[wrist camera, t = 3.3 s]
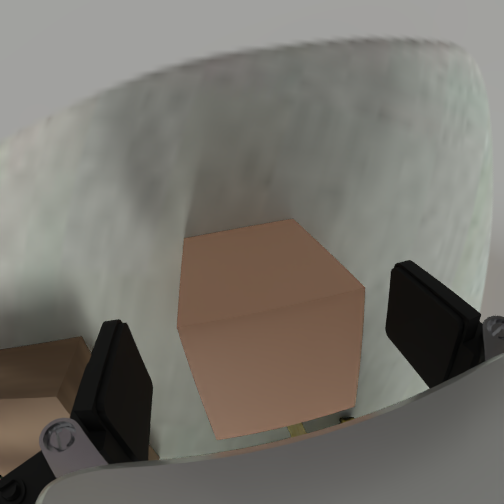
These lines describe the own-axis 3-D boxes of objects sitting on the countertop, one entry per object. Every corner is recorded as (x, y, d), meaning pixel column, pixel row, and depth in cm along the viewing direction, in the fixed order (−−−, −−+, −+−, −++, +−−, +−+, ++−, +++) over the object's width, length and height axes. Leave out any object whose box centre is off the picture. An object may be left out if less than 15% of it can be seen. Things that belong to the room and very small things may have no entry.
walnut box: (159, 454, 20) (159, 508, 15) (41, 456, 19) (29, 499, 14) (83, 332, 15) (56, 396, 11) (-40, 352, 14) (-71, 396, 10)
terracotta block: (300, 310, 17) (354, 406, 10) (205, 329, 16) (216, 440, 10) (292, 218, 15) (365, 287, 8) (184, 238, 14) (176, 327, 8)
